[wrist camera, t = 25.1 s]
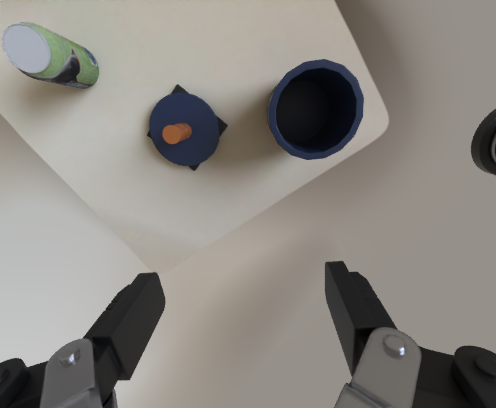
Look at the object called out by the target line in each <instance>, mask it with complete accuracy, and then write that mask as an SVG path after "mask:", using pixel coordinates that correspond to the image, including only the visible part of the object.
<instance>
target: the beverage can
mask: <svg viewBox="0 0 496 408" xmlns="http://www.w3.org/2000/svg"><path fill="white" fill-rule="evenodd" d="M2 46H3V50H4V52H5V54H6V56H7V58H8V59H9V60H10V62H11V63H12V64H13V65H15V66H16V67H17V68H18V69H19V70H20V71H21V72H22V73H24V74H25V75H27V76H29V77H31V78H34V79H37V80H42V81H47V82H52V83H57V84H62V85H68V86H73V87H78V88H87V87H90V86H92V85H93V84H94V83H95V82H96V81H97V78H98V75H99V68H98V64H97V61H96V59H95V58H94V56H93V55H92V54H91V52H89V51H88V50H87V49H86V48H84V47H82V46H80V45H78V44H76V43H74V42H72V41H70V40H68V39H66V38H64V37H62V36H60V35H58V34H56V33H54V32H52V31H50V30H48V29H46V28H44V27H42V26H40V25H38V24H35V23H30V22H21V23H18V24H13V25H11V26H9V27H8V28H7V29H6V30H5V31H4V33H3V36H2Z"/></svg>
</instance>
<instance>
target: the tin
mask: <svg viewBox="0 0 496 408" xmlns="http://www.w3.org/2000/svg"><path fill="white" fill-rule="evenodd" d="M363 103H364V96H363V94H362V91H361V88H360V85H359V83H358V80H357V78H356V77H355V76H354V75H353V74H352V73H351V72H350V71H349V70H348V69H347V68H346V67H345V66H343V65H341V64H338V63H335V62H332V61H329V60H326V59H322V60H315V61H308V62H304V63H302V64H301V65H299V66H297V67H296V68H294V69H292V70H291V71H289V72H288V73H287V74H286V75H285V76H284V77H283V79H282V80H281V81H280V83H279V84H278V85H277V87H276V88H275V89H274V91H273V93H272V94H271V96H270V100H269V103H268V107H267V118H268V124H269V127H270V129H271V131H272V133H273V135H274V137H275V139H276V141H277V143H278V144H279V145H280V146H281V147H282V148H283V149H284V150H286V151H287V152H288V153H289V154H290V155H293V156H296V157H299V158H303V159H306V160H311V159H321V158H326V157H328V156H330V155H332V154H334V153H336V152H338V151H340V150H341V149H342V148H343V147H344V146H345V145H346V144H347V143H348V142H349V141H350V140H351V139H352V138H353V137H354V135H355V134H356V131H357V129H358V127H359V125H360V122H361V120H362V117H363Z"/></svg>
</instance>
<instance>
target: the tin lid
mask: <svg viewBox="0 0 496 408" xmlns="http://www.w3.org/2000/svg"><path fill="white" fill-rule="evenodd" d="M150 134H151V138H152V140H153V143H154V145H155V146H156V148H157V150H158V151H159V152H160V153H161V154H162V155H163V156H164V157H165V158H166V159H168V160H169V161H171V162H173V163H175V164H178V165H183V166H193V165H197V164H200V163H202V162H204V161H205V160H207V159H208V158H209V157H210V156H211V155H212V154H213V153H214V151H215V149H216V147H217V145H218V142H219V134H220V131H219V124H218V120H217V117H216V115H215V113H214V112H213V110H212V109H211V107H210V106H209V105H208V104H207V103H206V102H205V101H203V100H202V99H201V98H199V97H197V96H195V95H192V94H188V93H174V94H170V95H168V96H166V97H164V98H163V99H161V100H160V101H159V102H158V103H157V104H156V106H155V107H154V109H153V111H152V114H151V117H150Z"/></svg>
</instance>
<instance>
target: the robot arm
mask: <svg viewBox="0 0 496 408" xmlns="http://www.w3.org/2000/svg"><path fill="white" fill-rule="evenodd" d="M489 156H490V158H491V160H492V162H493V163H494V164H495V165H496V129H495V131H494V133H493V134H492V136H491V139H490V142H489ZM325 295H326V300H327V304H328V307H329V310H330V313H331V316H332V319H333V322H334V325H335V328H336V331H337V334H338V337H339V340H340V343H341V346H342V349H343V352H344V355H345V358H346V361H347V364H348V366H349V370H350V373H351V376H352V380H351V382H350V383H349V384H348V383H346V384H345V385H344V387H343V389H342V391H341V393H340V395H339V398H338V400H337V402H336V404H335V407H334V408H496V354H495V353H493V352H491V351H489V350H486V349H484V348H480V347H476V346H462V347H460V348H458V349H457V350H456V352H455V354H454V356H453V355H449V354H445V353H441V352H436V351H432V350H428V349H425V348H422V347H420V346H418V345H417V344H416V342H415V341H414V340H413V339H412V338H411V337H409V336H408V335H406V334H405V333H403V332H401V331H399V330H398V329H397V328H396V326H395V325H394V323H393V322H392V320H391V318H390V316H389V315H388V313H387V311H386V310H385V308H384V307H383V305H382V303H381V302H380V300H379V299H378V298H377V295H376V294H375V292H374V291H373V290H372V287H371V286H370V284H369V282H368V281H367V279H366V278H364V277H363V276H362V275H360V274H359V273H358V272H349V271H348V269H347V267H346V265H345V264H344V262H343V261H335V262H334V261H333V262H326V263H325ZM164 308H165V296H164V293H163V289H162V286H161V283H160V279H159V276H158V274H157V273H156V272H153V273H140V274H138V275H137V277H136V278H135V279H134V281H133V282H132V283H131V285H128V286H126V287H125V288H124V289H122V290H121V291H120V292H119V293H118V294H117V295H116V296H115V298H114V299H113V300H112V301H111V303H110V304H109V305H108V307H107V308H106V310H105V311H104V312H103V313H102V314H101V316H100V317H99V318H98V319H97V321H96V322H95V323H94V324H93V326H92V327H91V328H90V330H89V331H88V332H87V333H86V335H85V336H84V337H83V338H82V339H78V340H75V341H72V342H70V343H68V344H66V345H65V346H63V347H62V348H61V349H59V350H58V351H57V352H56V353H55V354H54V355H53V356H52V357H51V358H50V359H49V361H46V362H43V363H40V364H36V365H34V366H30V367H26V365H25V363H24V362H23V360H22V359H19V358H14V359H10V360H7V361H4V362H2V363H0V408H118V406H117V399H116V393H115V390H114V386H115V384H116V383H117V381H118V380H130V378H131V376H132V374H133V372H134V370H135V368H136V366H137V364H138V362H139V360H140V358H141V356H142V354H143V352H144V350H145V348H146V346H147V344H148V342H149V340H150V338H151V336H152V333H153V331H154V329H155V327H156V325H157V323H158V321H159V319H160V317H161V315H162V313H163V311H164Z"/></svg>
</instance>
